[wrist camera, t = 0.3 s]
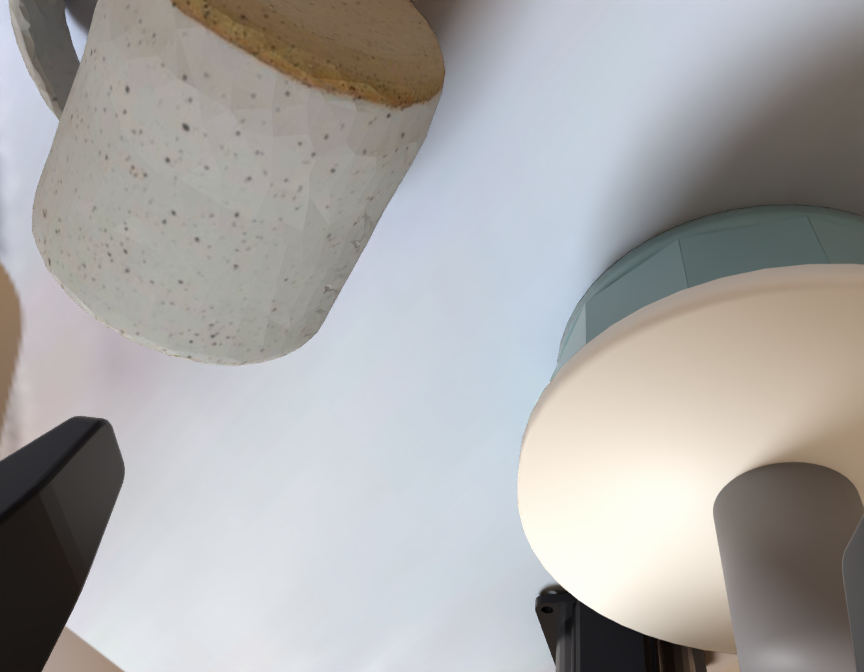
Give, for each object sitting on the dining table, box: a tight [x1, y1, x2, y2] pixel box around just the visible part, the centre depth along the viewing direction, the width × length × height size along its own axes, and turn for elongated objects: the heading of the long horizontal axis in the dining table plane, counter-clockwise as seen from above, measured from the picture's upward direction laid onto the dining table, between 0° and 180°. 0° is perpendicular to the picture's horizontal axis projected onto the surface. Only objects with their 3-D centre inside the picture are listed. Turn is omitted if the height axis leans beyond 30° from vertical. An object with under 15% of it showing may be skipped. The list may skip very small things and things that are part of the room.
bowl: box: [550, 205, 864, 382], centre depth 23 cm, size 12×12×4 cm
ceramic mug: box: [9, 0, 445, 365], centre depth 18 cm, size 11×8×8 cm
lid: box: [517, 264, 864, 672], centre depth 19 cm, size 14×14×6 cm
